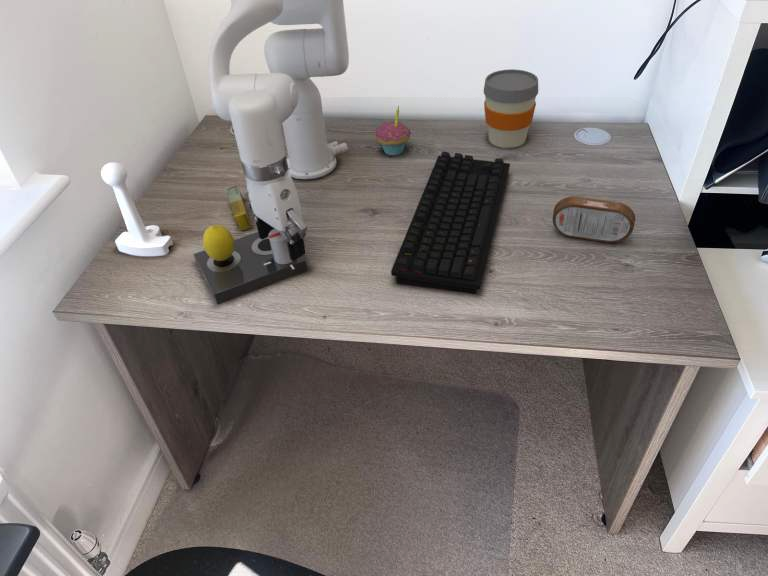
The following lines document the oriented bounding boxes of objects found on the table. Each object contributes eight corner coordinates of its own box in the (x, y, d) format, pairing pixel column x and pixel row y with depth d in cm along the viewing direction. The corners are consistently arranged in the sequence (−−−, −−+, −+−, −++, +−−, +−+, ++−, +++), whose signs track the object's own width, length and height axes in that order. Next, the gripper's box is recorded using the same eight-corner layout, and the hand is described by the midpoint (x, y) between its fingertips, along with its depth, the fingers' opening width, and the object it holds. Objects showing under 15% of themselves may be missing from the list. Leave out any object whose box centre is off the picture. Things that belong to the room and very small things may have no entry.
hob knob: (291, 247, 120) (286, 222, 116) (300, 259, 117) (295, 234, 113) (270, 255, 119) (264, 230, 115) (278, 267, 116) (273, 242, 112)
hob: (287, 231, 128) (285, 221, 127) (316, 271, 118) (314, 260, 116) (196, 263, 122) (193, 253, 120) (219, 308, 112) (215, 297, 110)
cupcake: (416, 145, 152) (414, 99, 144) (402, 162, 147) (400, 115, 139) (384, 140, 155) (381, 94, 147) (370, 156, 150) (365, 110, 142)
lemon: (231, 270, 116) (221, 236, 110) (204, 267, 117) (193, 233, 111) (242, 252, 120) (233, 218, 114) (216, 250, 121) (205, 216, 115)
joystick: (115, 253, 127) (76, 168, 113) (134, 231, 132) (99, 147, 119) (163, 258, 124) (130, 171, 111) (181, 236, 130) (151, 150, 116)
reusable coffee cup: (503, 122, 158) (507, 64, 149) (543, 137, 151) (550, 78, 141) (470, 140, 152) (472, 81, 143) (511, 157, 145) (516, 96, 135)
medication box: (231, 203, 138) (225, 188, 135) (243, 199, 138) (237, 184, 136) (240, 231, 129) (233, 216, 126) (252, 227, 129) (246, 212, 127)
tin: (630, 238, 119) (639, 202, 114) (629, 248, 117) (639, 211, 112) (551, 227, 124) (556, 191, 118) (549, 236, 121) (554, 200, 116)
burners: (277, 231, 124) (277, 231, 124) (289, 248, 120) (289, 247, 120) (203, 257, 119) (202, 257, 119) (212, 275, 115) (212, 275, 115)
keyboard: (480, 297, 110) (481, 276, 106) (391, 285, 113) (389, 264, 110) (509, 174, 140) (511, 154, 136) (438, 167, 144) (438, 148, 140)
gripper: (314, 173, 101) (327, 256, 113) (254, 141, 111) (272, 220, 123) (277, 192, 98) (294, 275, 109) (219, 157, 108) (240, 237, 119)
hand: (282, 246), depth 116 cm, fingers open, 9 cm apart
